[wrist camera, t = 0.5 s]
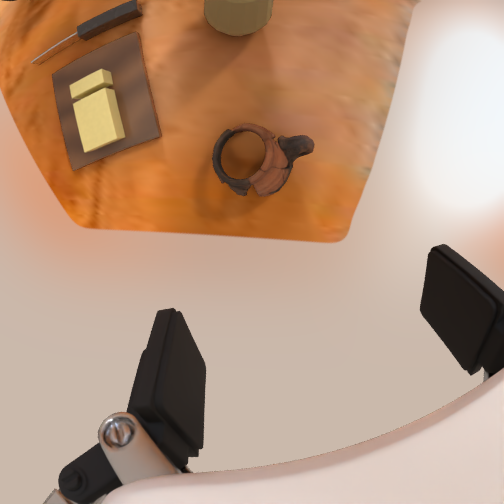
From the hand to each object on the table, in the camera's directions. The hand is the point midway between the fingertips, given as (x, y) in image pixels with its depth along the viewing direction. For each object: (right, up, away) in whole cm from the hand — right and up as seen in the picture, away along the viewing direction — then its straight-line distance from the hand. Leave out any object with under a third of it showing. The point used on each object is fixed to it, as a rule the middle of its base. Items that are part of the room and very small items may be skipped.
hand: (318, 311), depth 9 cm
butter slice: (-23, +24, +18) cm, 37 cm away
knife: (-26, +33, +14) cm, 44 cm away
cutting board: (-22, +22, +20) cm, 37 cm away
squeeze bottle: (-4, +32, +17) cm, 37 cm away
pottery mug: (-1, +15, +26) cm, 29 cm away
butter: (-22, +19, +20) cm, 35 cm away
